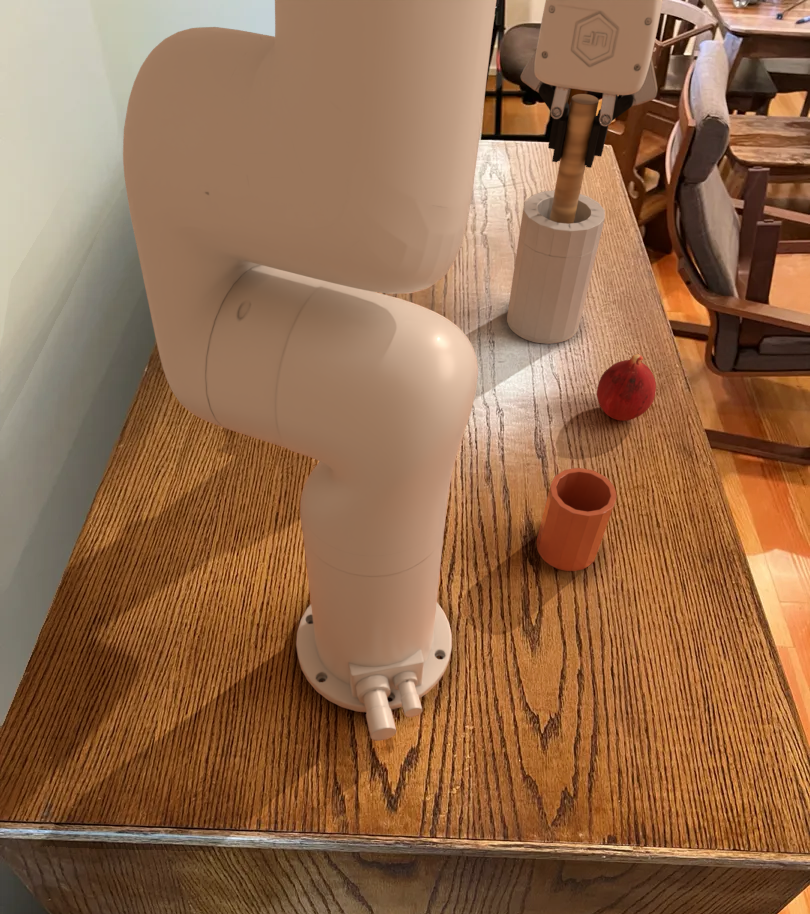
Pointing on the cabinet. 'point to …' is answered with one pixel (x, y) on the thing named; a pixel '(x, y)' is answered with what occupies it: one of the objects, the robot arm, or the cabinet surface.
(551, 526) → the holder
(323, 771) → the cabinet surface
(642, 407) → the onion
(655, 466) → the cabinet surface
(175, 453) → the cabinet surface
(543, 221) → the white hollow cylinder
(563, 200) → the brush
